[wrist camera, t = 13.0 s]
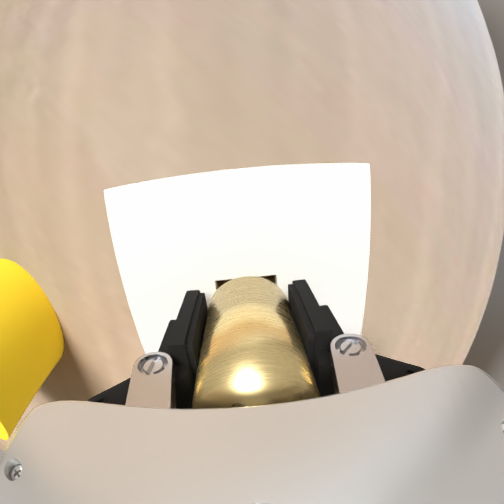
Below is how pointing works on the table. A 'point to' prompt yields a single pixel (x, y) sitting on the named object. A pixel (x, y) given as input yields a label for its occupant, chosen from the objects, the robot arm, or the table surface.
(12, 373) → the yellow toilet paper roll
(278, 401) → the brass peg
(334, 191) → the keyhole plate
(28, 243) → the table surface
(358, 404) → the robot arm
